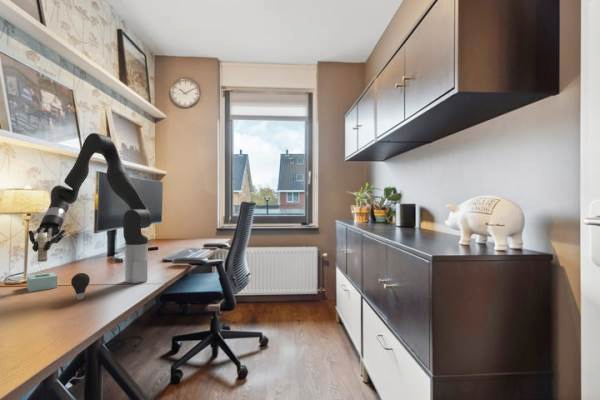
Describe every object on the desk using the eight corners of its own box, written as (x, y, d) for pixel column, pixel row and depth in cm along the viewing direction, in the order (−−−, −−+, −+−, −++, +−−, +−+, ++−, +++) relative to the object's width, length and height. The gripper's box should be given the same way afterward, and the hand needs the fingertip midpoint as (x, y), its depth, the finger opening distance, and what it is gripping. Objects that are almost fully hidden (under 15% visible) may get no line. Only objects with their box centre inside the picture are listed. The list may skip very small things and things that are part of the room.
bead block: (57, 287, 129) (57, 275, 129) (28, 291, 122) (29, 279, 122) (54, 283, 135) (54, 272, 135) (26, 287, 128) (27, 275, 128)
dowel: (47, 261, 129) (47, 233, 129) (38, 262, 126) (38, 233, 127) (46, 260, 131) (46, 232, 131) (37, 261, 129) (37, 232, 129)
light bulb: (92, 299, 114) (92, 272, 114) (75, 303, 109) (75, 275, 109) (85, 296, 116) (85, 270, 117) (67, 300, 112) (68, 273, 112)
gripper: (31, 214, 134) (15, 245, 122) (69, 213, 138) (57, 244, 126) (37, 225, 139) (22, 256, 127) (74, 224, 143) (62, 254, 131)
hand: (40, 250), depth 127 cm, fingers closed on dowel, 3 cm apart
